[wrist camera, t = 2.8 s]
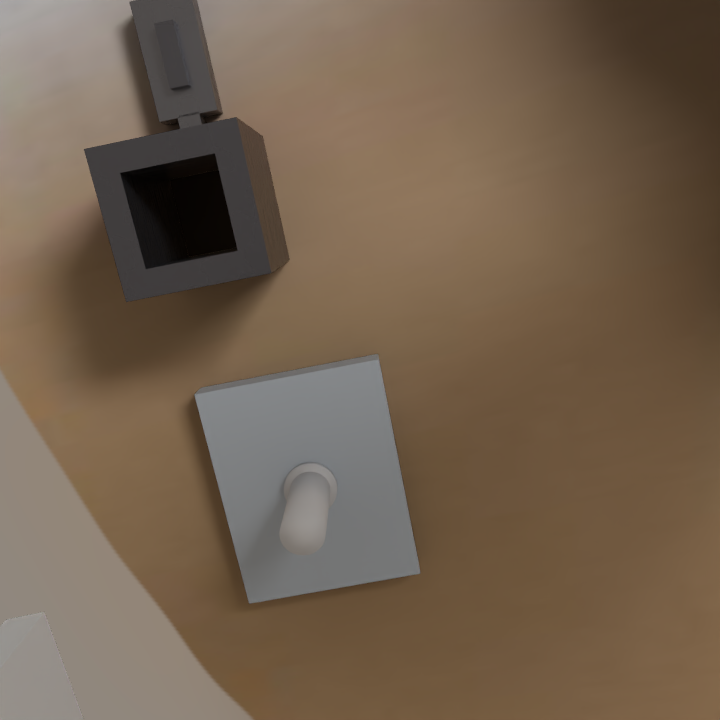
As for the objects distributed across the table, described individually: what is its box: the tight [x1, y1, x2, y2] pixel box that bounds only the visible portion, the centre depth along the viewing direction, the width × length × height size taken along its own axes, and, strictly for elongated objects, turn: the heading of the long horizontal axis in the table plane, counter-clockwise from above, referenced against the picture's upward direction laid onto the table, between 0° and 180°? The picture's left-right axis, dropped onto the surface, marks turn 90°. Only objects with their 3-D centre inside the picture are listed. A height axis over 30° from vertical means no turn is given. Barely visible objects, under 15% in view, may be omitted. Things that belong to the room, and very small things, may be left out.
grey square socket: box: [84, 0, 290, 302], centre depth 33 cm, size 15×7×8 cm, turn 11°
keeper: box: [194, 354, 420, 604], centre depth 38 cm, size 14×11×8 cm
